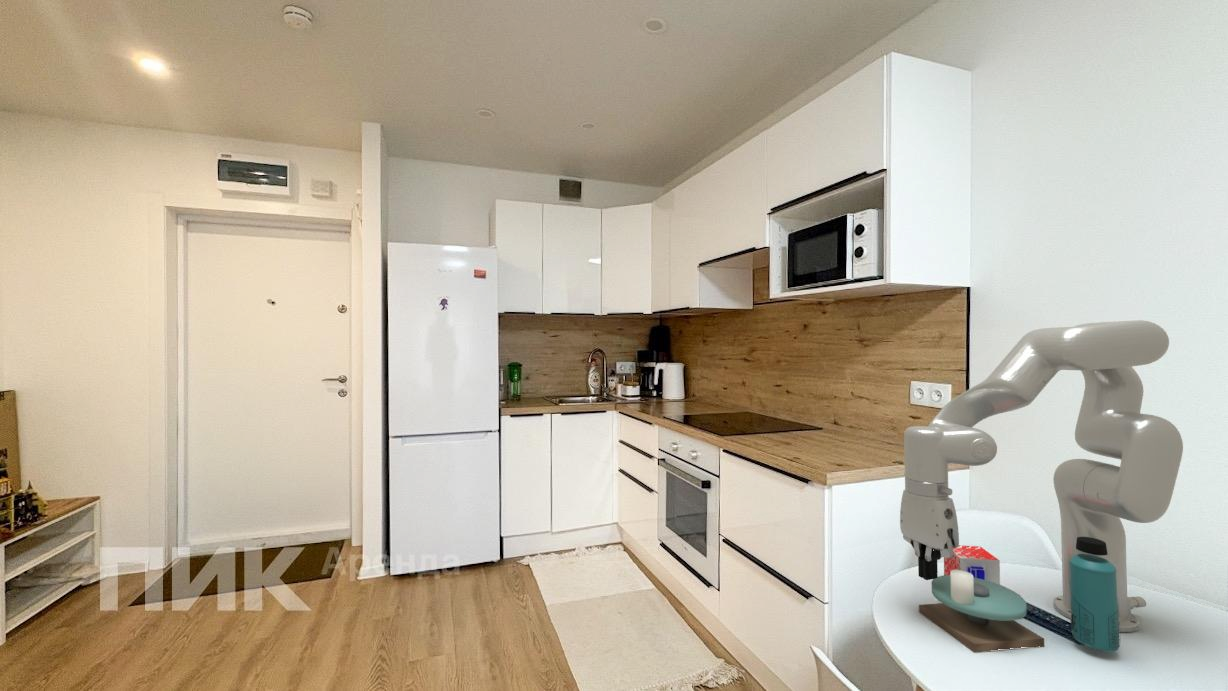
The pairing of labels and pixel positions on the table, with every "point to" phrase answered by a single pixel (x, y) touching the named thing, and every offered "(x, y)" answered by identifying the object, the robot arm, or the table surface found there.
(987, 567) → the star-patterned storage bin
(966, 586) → the handwheel
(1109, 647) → the beverage bottle
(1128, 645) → the table surface
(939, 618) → the stand
